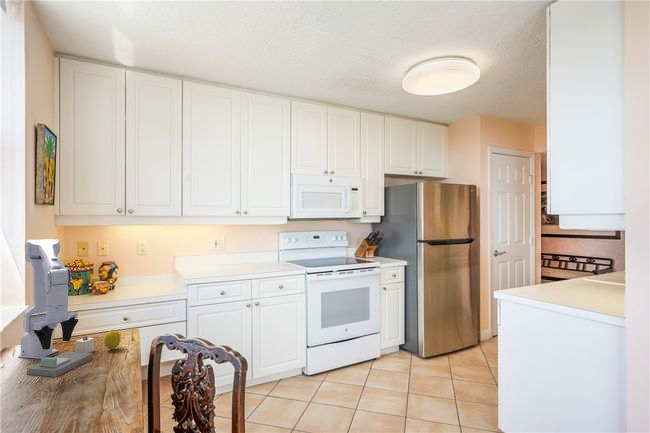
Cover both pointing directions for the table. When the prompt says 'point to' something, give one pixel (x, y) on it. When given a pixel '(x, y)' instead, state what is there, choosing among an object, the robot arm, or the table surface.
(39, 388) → the table surface
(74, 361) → the socket plate
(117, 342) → the lemon
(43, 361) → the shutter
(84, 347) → the plug
